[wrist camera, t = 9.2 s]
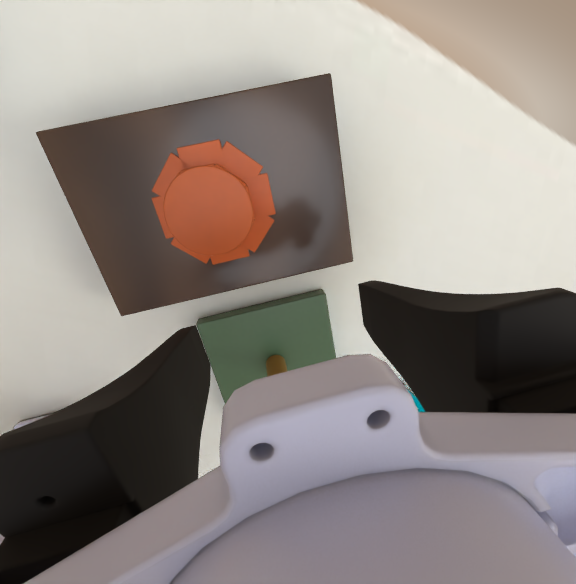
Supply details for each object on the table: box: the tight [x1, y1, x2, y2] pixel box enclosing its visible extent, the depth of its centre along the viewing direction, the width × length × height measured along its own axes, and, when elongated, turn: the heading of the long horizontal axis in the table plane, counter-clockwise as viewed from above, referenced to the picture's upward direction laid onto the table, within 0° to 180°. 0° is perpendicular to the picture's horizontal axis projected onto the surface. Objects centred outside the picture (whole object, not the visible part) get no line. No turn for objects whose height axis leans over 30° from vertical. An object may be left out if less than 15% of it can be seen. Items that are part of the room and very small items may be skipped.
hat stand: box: [197, 289, 336, 404], centre depth 22 cm, size 10×10×6 cm
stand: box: [36, 74, 353, 316], centre depth 19 cm, size 16×11×2 cm
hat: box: [152, 139, 276, 265], centre depth 16 cm, size 7×7×4 cm
